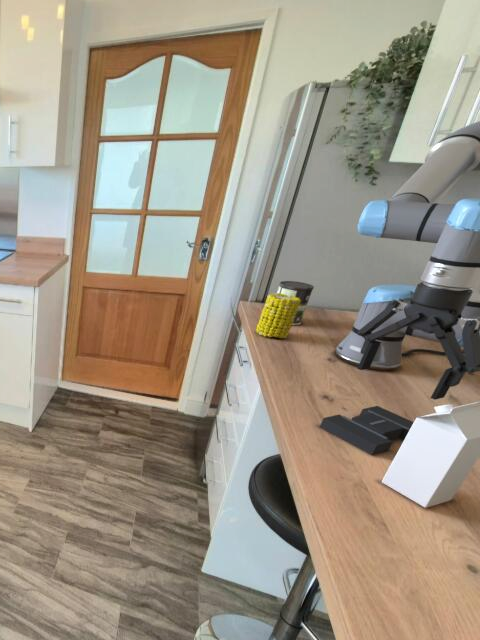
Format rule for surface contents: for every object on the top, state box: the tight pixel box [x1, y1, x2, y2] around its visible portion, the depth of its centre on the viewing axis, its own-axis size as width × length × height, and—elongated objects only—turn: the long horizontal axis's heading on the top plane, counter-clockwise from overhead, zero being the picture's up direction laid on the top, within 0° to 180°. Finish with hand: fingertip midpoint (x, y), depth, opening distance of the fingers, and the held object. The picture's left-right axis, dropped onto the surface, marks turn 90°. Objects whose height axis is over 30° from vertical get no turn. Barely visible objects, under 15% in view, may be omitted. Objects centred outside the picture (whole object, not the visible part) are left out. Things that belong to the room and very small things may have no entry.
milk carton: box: [381, 401, 480, 509], centre depth 76 cm, size 7×7×19 cm
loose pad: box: [350, 413, 404, 441], centre depth 96 cm, size 6×6×3 cm
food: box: [255, 292, 301, 339], centre depth 147 cm, size 15×12×10 cm
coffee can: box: [276, 280, 315, 326], centre depth 159 cm, size 10×10×14 cm
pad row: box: [319, 405, 414, 456], centre depth 96 cm, size 18×11×3 cm, turn 107°
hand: (397, 382), depth 91 cm, fingers open, 13 cm apart
